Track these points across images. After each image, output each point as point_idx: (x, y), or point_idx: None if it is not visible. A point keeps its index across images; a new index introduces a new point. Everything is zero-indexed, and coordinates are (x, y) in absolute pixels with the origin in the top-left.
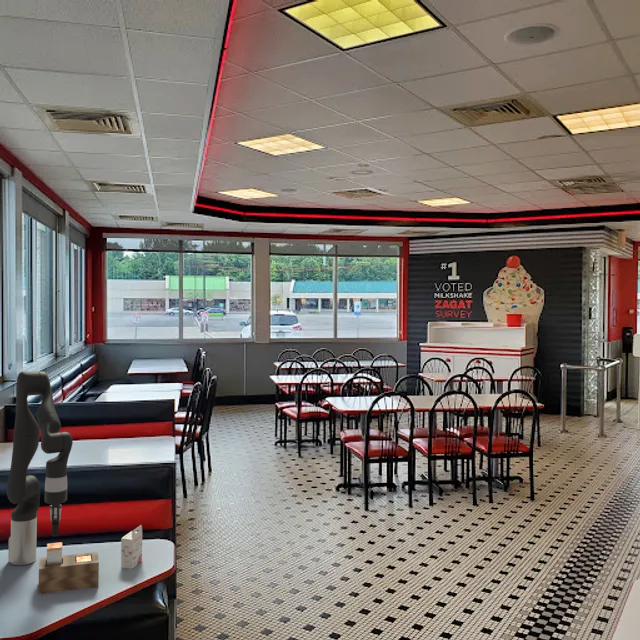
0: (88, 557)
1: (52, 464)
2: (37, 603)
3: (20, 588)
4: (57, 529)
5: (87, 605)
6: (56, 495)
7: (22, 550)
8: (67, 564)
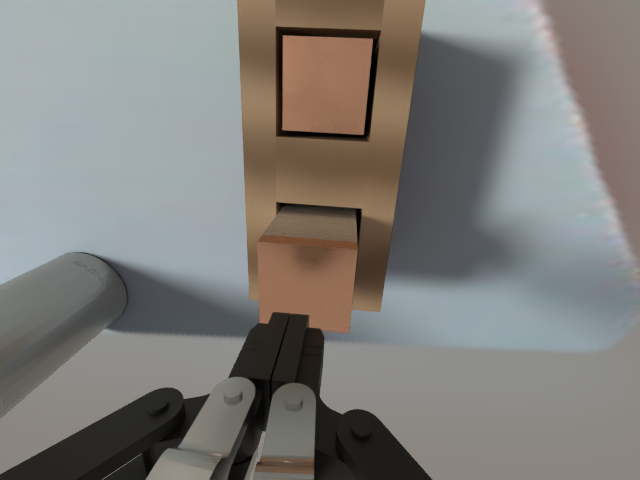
0: (312, 54)
1: None
2: (443, 266)
3: None
4: (300, 361)
5: (565, 95)
6: None
7: (87, 324)
8: (377, 186)
